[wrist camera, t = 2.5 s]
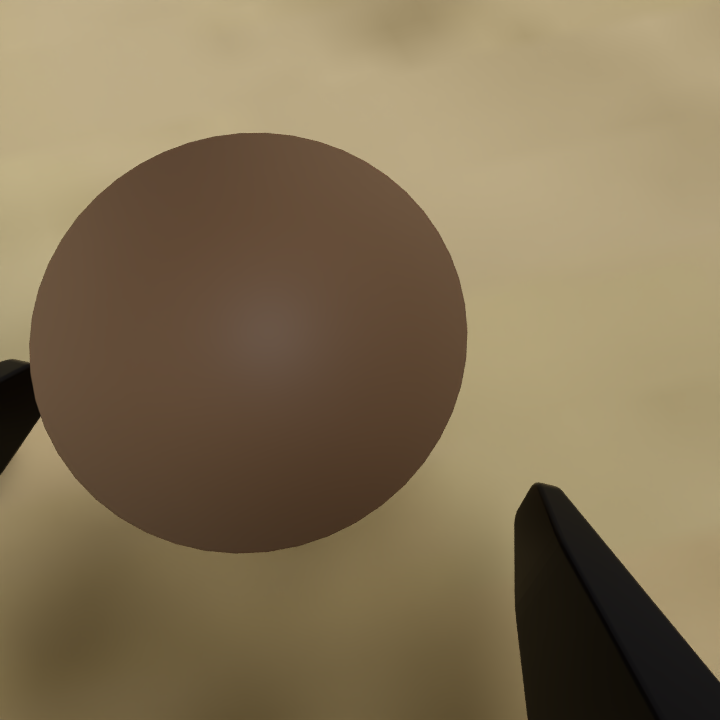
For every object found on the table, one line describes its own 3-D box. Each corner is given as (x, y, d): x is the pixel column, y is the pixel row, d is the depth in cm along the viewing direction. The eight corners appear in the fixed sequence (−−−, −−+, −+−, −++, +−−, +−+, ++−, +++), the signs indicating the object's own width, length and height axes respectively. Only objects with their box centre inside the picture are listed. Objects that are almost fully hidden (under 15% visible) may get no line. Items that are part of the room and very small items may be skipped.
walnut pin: (304, 503, 17) (182, 659, 4) (240, 410, 17) (-50, 274, 4) (395, 435, 17) (554, 372, 4) (331, 347, 18) (307, 66, 5)
